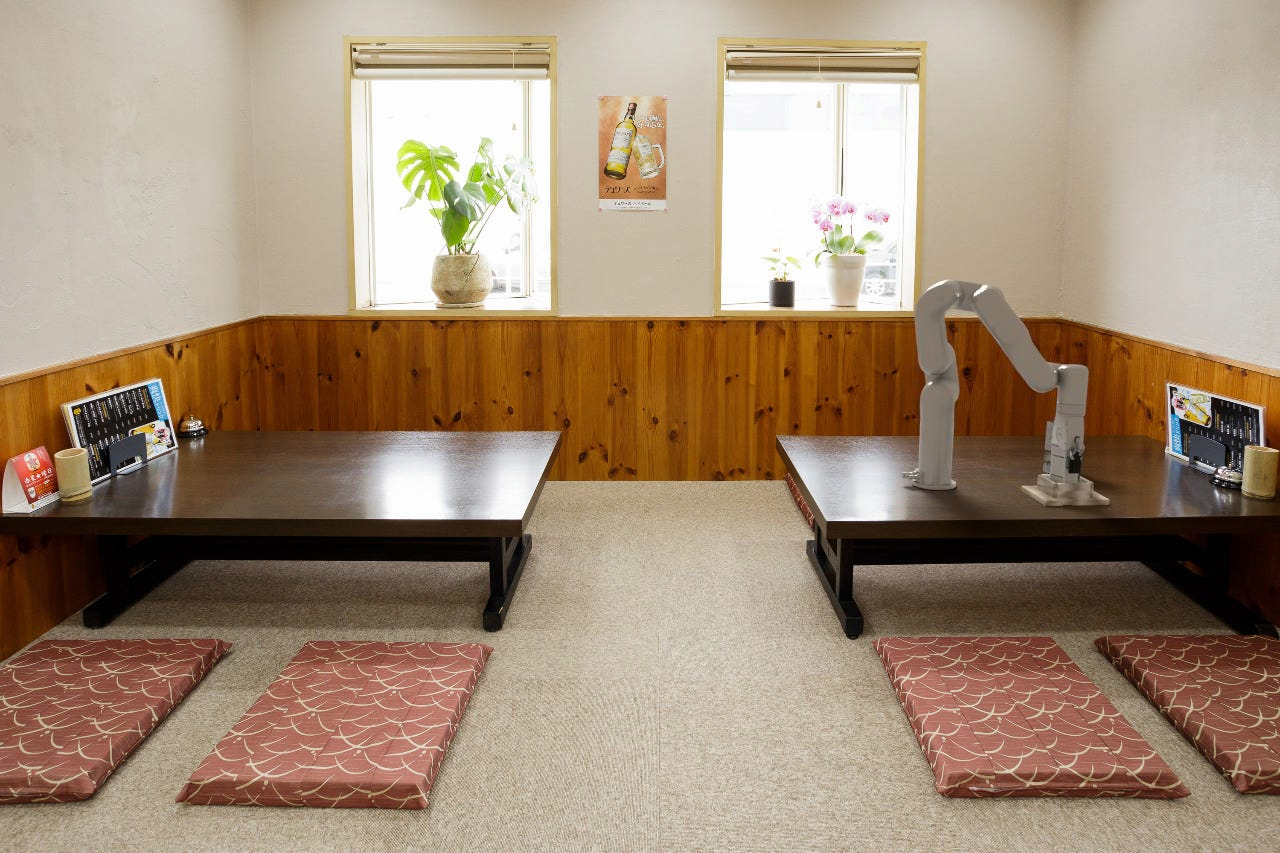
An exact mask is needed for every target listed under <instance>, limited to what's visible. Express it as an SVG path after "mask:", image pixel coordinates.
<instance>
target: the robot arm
mask: <svg viewBox="0 0 1280 853" xmlns="http://www.w3.org/2000/svg"><path fill="white" fill-rule="evenodd" d="M951 310H957V311H963V312H969V313H973V314H975V315H976V317H977V318H978V319H979V320H980V322H981V323H982V324H983V325H984V326H985V328H986V329H987V330H988V332H989V333H990V335H991V336H992V337H993V338H994V339H995V342H997V344H998V346H1000V348H1001V350H1002V352H1004V354H1005V355H1006V357H1007V358H1008V359H1009V360H1010V362H1011V364H1012V365H1013V367H1014V369H1015V370H1016V371H1017V372H1018V373H1019V374H1020V376H1021V377H1022V379H1023V380H1024V381H1025V382H1026V384H1027V385H1028V387H1029V388H1031V389H1032V390H1033V391H1035V392H1037V393H1040V394H1041V393H1042V394H1043V393H1048V392H1051V391H1052V390H1053V389H1055V388H1057V393H1056V394H1057V395H1056V396H1057V397H1056V408H1055V416H1054V420H1053V421H1054V426H1053V433H1052V442H1058V444H1059V449H1061V450H1063V451H1068V450H1069V454H1070V458H1071V459H1069V467H1068V473H1070V474H1079V473H1080V474H1081V470H1082V468H1081V466H1082V460H1083V456H1084V453H1085V449H1086V447H1085V444H1084V437H1085V436H1084V435H1085V419H1084V417H1085V416H1086V409H1087V408H1086V407H1087V398H1088V397H1087V396H1088V387H1089V386H1088V384H1089V375H1090V374H1089V372H1090V370H1089V368H1088V367H1087V366H1086V365H1082V364H1077V363H1076V364H1075V363H1074V364H1073V363H1072V364H1071V363H1070V364H1062V363H1057V362H1056V363H1054V362H1049V361H1046V359H1045V358H1044V357H1043V356H1042V353H1040V351H1039V350H1038V348H1037V347H1036V346H1035V344H1034V343H1033V339H1032V338H1031V334H1030V332H1029V330H1028V328H1027V326H1026V325H1025V324H1024V322H1023V321H1022V320H1021V318H1020V317H1019V316H1018V314H1017V313H1016V312H1015V310H1013V309H1012V307H1011V306H1010V305H1009V303H1008V302H1007V301H1006V297H1005V294H1004V293H1003V291H1002V290H1001V289H1000V288H999V287H997V286H994V285H989V284H983V283H974V282H970V281H963V280H956V279H945V280H942V281H939V282H937V283H935V284H933V285H932V286H930V287H929V288H928V289H927V290H925V291H924V292H923V293H922V294H921V296H920V297H919V298H918V300H917V302H916V305H915V309H914V326H915V337H916V339H915V340H916V341H915V342H916V347H917V362H918V365H919V368H920V369H921V371H923V372H924V378H925V385H924V387H923V388H922V390H921V392H920V396H919V398H920V400H919V413H920V414H919V416H920V418H919V420H920V421H919V422H920V423H919V443H918V445H919V446H918V461H917V462H918V465H917V466H918V467H917V468H916V467H915V468H914V470H912V471H901V474H900V475H901V479H908V480H910V481H911V484H912V485H913V486H915V487H917V488H920V489H924V490H930V491H931V490H932V491H947V490H952V489H955V488H956V487H957V482H956V480H954V479H952V467H953V466H952V465H953V449H954V448H953V446H954V428H955V404H956V401H957V400H958V399H959V394H960V381H959V373H958V365H957V358H956V352H955V349H954V347H953V345H952V344H950V343H949V342H948V338H947V335H948V334H947V326H946V320H945V318H946V313H947V312H948V311H951ZM1073 452H1075V454H1073Z"/></svg>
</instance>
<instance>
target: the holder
mask: <svg viewBox="0 0 1280 853" xmlns="http://www.w3.org/2000/svg"><path fill="white" fill-rule="evenodd" d="M1036 481H1037V482H1036V485H1021V489H1020V492H1022V493H1023V494H1025V495H1027V496H1028V495H1029V497H1030V498H1031V499H1033V500H1034V501H1036V502H1038V503H1039V504H1042V505H1043V506H1044V507H1057V506H1058V507H1061V506H1063V505H1072V506H1108V505H1109V506H1110V499H1109V498H1107V497H1105V496H1103V495H1102V494H1100V493H1099V492H1097V491H1095V490H1094V486H1095V485H1094V484H1095V483H1094V482H1093V481H1091V480H1089V479H1087V478H1085V477H1083V476H1081V475H1080V483H1056V482H1054V481H1052V480H1050V474H1048V473H1042V474H1038V475H1037V480H1036ZM1063 507H1064V506H1063Z"/></svg>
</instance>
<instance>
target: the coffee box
mask: <svg viewBox="0 0 1280 853" xmlns="http://www.w3.org/2000/svg"><path fill="white" fill-rule="evenodd" d="M1053 426H1054V420H1052V421H1051V420H1050V421H1049V420H1047V421H1046V431H1045V443H1044V444H1045V445H1044V452H1043V454H1044V455H1043V464H1042V466H1043V467H1042V472H1044V473H1045V474H1048V473H1049V474H1050V468H1051V451H1052V433H1053Z"/></svg>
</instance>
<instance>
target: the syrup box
mask: <svg viewBox="0 0 1280 853" xmlns="http://www.w3.org/2000/svg"><path fill="white" fill-rule="evenodd" d="M1073 454H1075V452H1073ZM1069 459H1071V458H1070V454H1069V450H1068V451H1063V450H1061V449H1059V444H1058V442H1052V451H1051V468H1050V480H1052V481H1054V482H1056V483H1080V476H1081V472H1080V473H1079V474H1070V473H1068V467H1069Z"/></svg>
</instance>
